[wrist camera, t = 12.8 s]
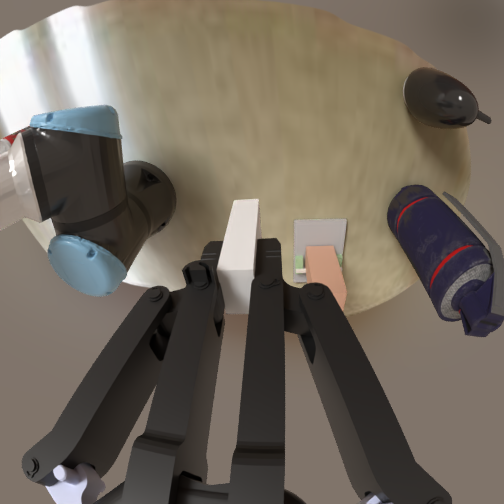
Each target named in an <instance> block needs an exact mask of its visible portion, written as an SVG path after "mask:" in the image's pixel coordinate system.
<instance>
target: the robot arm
mask: <svg viewBox="0 0 504 504" xmlns="http://www.w3.org/2000/svg"><path fill="white" fill-rule="evenodd" d="M30 127H31V128H30V129H28V130H26V131H23V132H21V133H19V134H18V135H17V137H16V139H15V140H14V142H13V144H12V146H11V148H10V149H9V150H8V151H7V152H4V153H2V154H0V231H1V230H3V229H4V228H6V227H8V226H10V225H12V224H13V223H15V222H17V221H19V220H21V219H23V218H30V219H32V220H34V221H36V222H39V223H41V222H43V221H45V220H47V219H49V218H51V219H52V223H53V226H54V229H55V232H56V236H55V237H53V238H52V239H51V241H50V244H49V248H48V258H49V261H50V264H51V266H52V267H53V269H54V271H55V272H56V273H57V274H58V276H59V277H60V278H61V279H62V280H63V281H65V282H66V283H67V284H68V285H70V286H71V287H73V288H74V289H76V290H78V291H80V292H82V293H84V294H88V295H91V296H99V297H100V296H107V295H110V294H111V293H113V292H114V291H115V290H116V289H117V287H118V286H119V285H120V283H121V282H122V280H124V279H125V278H126V276H127V272H128V270H129V269H130V267H131V265H132V263H133V262H134V260H135V258H136V256H137V255H138V253H139V251H140V250H141V248H142V246H143V245H144V243H145V241H146V240H147V239H148V238H149V237H151V236H153V235H154V234H156V233H158V232H159V231H161V230H162V229H163V228H164V227H165V226H166V225H167V224H168V222H169V221H170V219H171V217H172V216H173V213H174V211H175V206H176V196H175V192H174V188H173V186H172V184H171V182H170V180H169V179H168V177H167V176H166V175H165V174H164V173H163V172H162V171H161V170H160V169H159V168H157V167H156V166H154V165H152V164H150V163H147V162H143V161H130V162H126V163H124V164H123V156H122V145H121V139H122V135H121V134H120V129H119V121H118V114H117V112H116V110H115V109H114V108H113V107H111V106H109V105H98V106H88V107H80V108H72V109H65V110H59V111H53V112H48V113H43V114H38V115H34V116H33V117H32V118H31V122H30ZM182 272H183V275H184V278H185V281H186V284H187V285H186V287H185V288H183V289H180V290H177V291H173V292H169V290H168V289H167V288H166V287H164V286H155V287H152V288H150V289H148V290H147V291H146V292H145V293H144V294H143V295H142V297H141V298H140V299H139V301H138V302H137V303H136V305H135V306H134V307H133V309H132V310H131V311H130V313H129V314H128V315H127V317H126V318H125V320H124V321H123V322H122V324H121V325H120V326H119V328H118V329H117V331H116V332H115V333H114V335H113V336H112V338H111V339H110V340H109V342H108V343H107V345H106V346H105V348H104V349H103V350H102V352H101V353H100V355H99V356H98V358H97V359H96V361H95V362H94V364H93V365H92V367H91V368H90V370H89V371H88V373H87V374H86V376H85V377H84V379H83V381H82V382H81V384H80V385H79V387H78V388H77V390H76V392H75V393H74V395H73V396H72V398H71V399H70V401H69V403H68V404H67V406H66V408H65V409H64V411H63V412H62V414H61V416H60V417H59V419H58V421H57V423H56V424H55V426H54V428H53V429H52V431H51V432H50V433H49V434H47V435H46V436H45V437H44V438H43V439H41V440H40V441H39V442H38V443H37V444H35V445H34V446H33V447H32V448H31V449H30V450H29V451H27V452H26V453H25V455H24V456H23V459H22V468H23V471H24V474H25V475H26V477H27V478H28V479H30V480H31V481H33V482H36V483H38V484H41V485H44V486H46V488H47V490H48V491H49V493H50V495H51V496H52V497H53V499H54V501H55V502H56V504H306V503H305V502H304V501H303V500H302V499H301V498H299V497H298V496H297V495H295V494H294V493H292V492H290V491H288V490H286V489H284V476H285V342H284V331H286V332H290V333H295V334H298V338H299V341H300V343H301V346H302V349H303V352H304V354H305V357H306V360H307V363H308V365H309V368H310V371H311V373H312V376H313V379H314V382H315V384H316V387H317V390H318V393H319V395H320V398H321V401H322V404H323V406H324V409H325V412H326V415H327V418H328V420H329V423H330V426H331V429H332V432H333V434H334V437H335V440H336V443H337V446H338V448H339V452H340V454H341V457H342V460H343V463H344V466H345V469H346V472H347V475H348V477H349V479H350V482H351V484H352V487H353V488H354V490H355V492H356V493H357V495H358V497H359V498H360V499H361V501H360V502H359V503H358V504H452V498H451V496H450V494H449V493H448V492H447V491H446V490H445V489H444V488H443V487H442V486H441V485H440V484H438V483H437V482H436V481H435V480H434V479H433V478H432V477H431V476H430V475H429V474H428V473H427V472H426V471H425V470H424V469H423V468H422V467H421V466H420V465H418V464H417V463H416V462H415V459H414V457H413V455H412V452H411V450H410V448H409V445H408V443H407V441H406V439H405V436H404V434H403V432H402V429H401V427H400V425H399V423H398V420H397V418H396V416H395V414H394V412H393V409H392V407H391V405H390V403H389V401H388V399H387V397H386V395H385V393H384V390H383V388H382V386H381V384H380V382H379V380H378V378H377V376H376V374H375V372H374V370H373V368H372V366H371V364H370V362H369V360H368V358H367V356H366V354H365V352H364V350H363V349H362V347H361V345H360V343H359V341H358V339H357V337H356V335H355V334H354V331H353V330H352V328H351V326H350V324H349V322H348V320H347V318H346V317H345V315H344V313H343V311H342V309H341V307H340V306H339V304H338V302H337V300H336V298H335V297H334V295H333V293H332V291H331V290H330V289H329V287H328V286H326V285H324V284H322V283H317V282H314V283H308V284H306V285H304V286H303V287H302V288H296V287H293V286H290V285H289V284H287V283H286V282H285V281H284V279H283V277H282V261H281V244H280V242H279V241H278V240H277V238H269V239H262V234H261V221H260V208H259V199H246V200H234V203H233V206H232V210H231V214H230V218H229V222H228V226H227V230H226V234H225V238H224V241H210V242H209V243H208V244H207V245H206V246H205V247H204V250H203V253H202V256H201V260H199V261H193V262H191V263H189V264H187V265H186V266H185V267H184V268H183V270H182ZM224 308H225V310H226V314H249V315H248V326H247V338H246V349H245V360H244V371H243V381H242V392H241V403H240V414H239V425H238V436H237V445H236V449H235V451H234V453H233V458H232V466H231V475H230V483H226V484H218V485H208V484H206V479H207V471H208V466H207V459H206V452H207V443H208V436H209V429H210V421H211V414H212V407H213V399H214V393H215V385H216V379H217V372H218V365H219V358H220V352H221V345H222V339H223V332H224V325H225V319H224V315H223V314H224ZM156 384H157V386H156ZM155 386H156V389H155V393H154V397H153V400H152V404H151V409H150V413H149V417H148V421H147V425H146V429H145V432H144V433H143V434H142V435H141V436H138V437H137V438H136V440H135V441H134V444H133V446H132V451H131V456H130V460H129V464H128V469H127V474H126V479H125V481H124V482H123V483H121V484H120V485H118V486H117V487H116V488H114V489H113V490H112V491H110V492H109V493H107V494H106V495H105V496H104V497H102V498H101V499H99V500H97V497H98V495H99V493H100V492H103V491H104V490H105V483H104V482H103V481H102V480H101V478H102V477H103V476H104V475H105V474H106V473H107V472H108V470H109V469H110V468H111V467H112V465H113V464H114V462H115V460H116V459H117V457H118V455H119V453H120V451H121V449H122V448H123V446H124V444H125V442H126V440H127V438H128V436H129V434H130V432H131V430H132V429H133V427H134V425H135V423H136V421H137V419H138V417H139V416H140V414H141V412H142V410H143V408H144V406H145V404H146V403H147V400H148V399H149V397H150V395H151V393H152V392H153V389H154V388H155ZM96 500H97V501H96Z"/></svg>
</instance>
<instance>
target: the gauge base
mask: <svg viewBox="0 0 504 504" xmlns="http://www.w3.org/2000/svg"><path fill="white" fill-rule="evenodd" d="M346 223H347V220H346V219H305V220H294V275H293V281H294V282H307V277H306V273H296V269H305V254H306V246H334V249H335V252H336V256H337V259H338V262H339V265H340V267H341V265H342V259H343V258H342V255H343V248H344V240H345V232H346Z"/></svg>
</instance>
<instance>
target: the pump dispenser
mask: <svg viewBox="0 0 504 504" xmlns="http://www.w3.org/2000/svg"><path fill="white" fill-rule="evenodd" d="M403 97H404V101H405V104H406V106H407V108H408V109H409V111H410V113H411V114H412V115H413V117H414V118H415V119H416V120H418V121H419V122H420V123H422V124H424V125H427V126H430V127H434V128H441V129H459V128H464V127H467V126H469V125H471V124H472V123H473V122H474V121H475V120H476V119H479V120H481V121H483V122H485V123H487V124H490V123H491V118H490V117H488V116H487V115H485V114H483V113H482V112H481V111H479V108H478V102H477V100H476V98H475V96H474V95H473V93H472V92H471V91H470V89H469V88H468V87H467V86H465V85H464V84H463V83H462V82H460V81H459V80H457V79H456V78H454V77H452V76H451V75H449V74H447V73H444V72H442V71H440V70H437V69H433V68H426V67H423V68H418V69H416V70H414V71H413V72H412V73H411V74H410V75H409V76H408V77H407V79H406V80H405V83H404V86H403Z"/></svg>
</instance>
